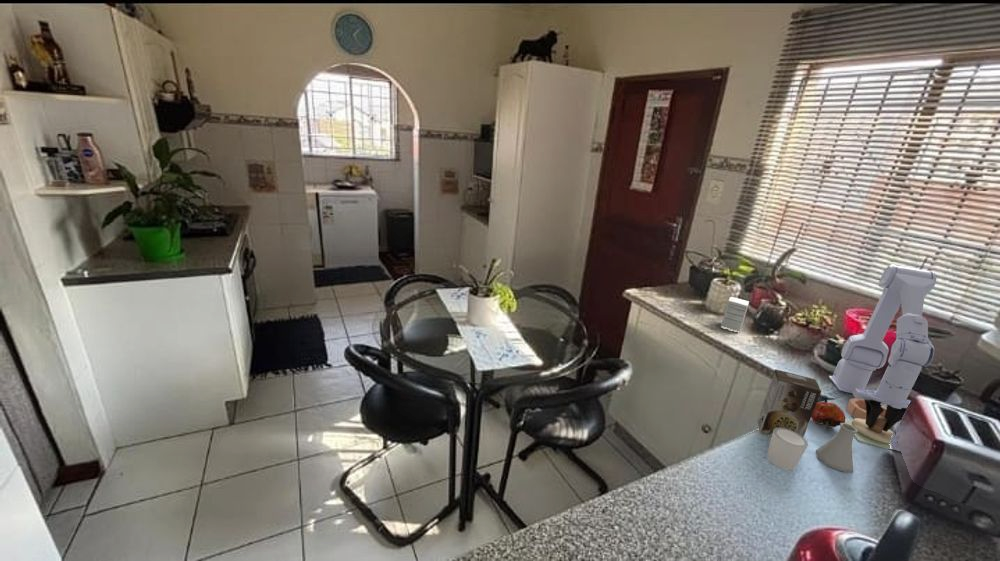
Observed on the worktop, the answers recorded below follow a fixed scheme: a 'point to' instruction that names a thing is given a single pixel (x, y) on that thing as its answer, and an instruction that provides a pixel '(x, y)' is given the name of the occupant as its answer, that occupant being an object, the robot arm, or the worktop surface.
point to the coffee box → (788, 403)
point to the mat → (867, 438)
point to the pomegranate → (828, 414)
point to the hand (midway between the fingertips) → (875, 427)
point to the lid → (874, 429)
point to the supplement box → (735, 313)
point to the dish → (859, 408)
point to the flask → (839, 449)
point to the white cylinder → (786, 448)
